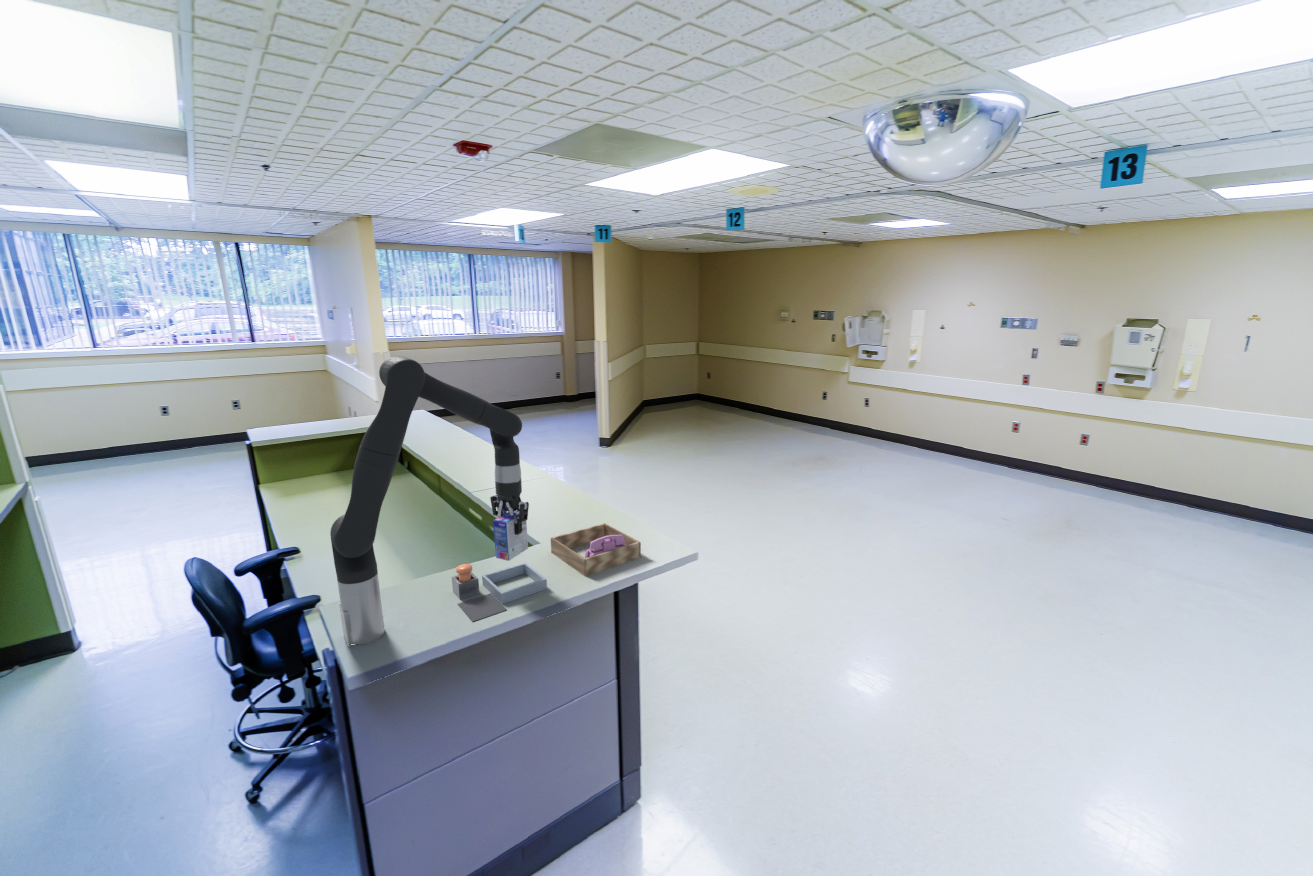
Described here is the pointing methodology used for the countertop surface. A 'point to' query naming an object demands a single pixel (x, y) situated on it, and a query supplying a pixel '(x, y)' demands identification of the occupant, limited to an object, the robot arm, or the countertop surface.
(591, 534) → the phone corral
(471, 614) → the mat
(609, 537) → the toy telephone
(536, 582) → the collar
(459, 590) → the button housing
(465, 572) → the release button
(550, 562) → the countertop surface
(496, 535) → the ink cartridge box
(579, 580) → the countertop surface
